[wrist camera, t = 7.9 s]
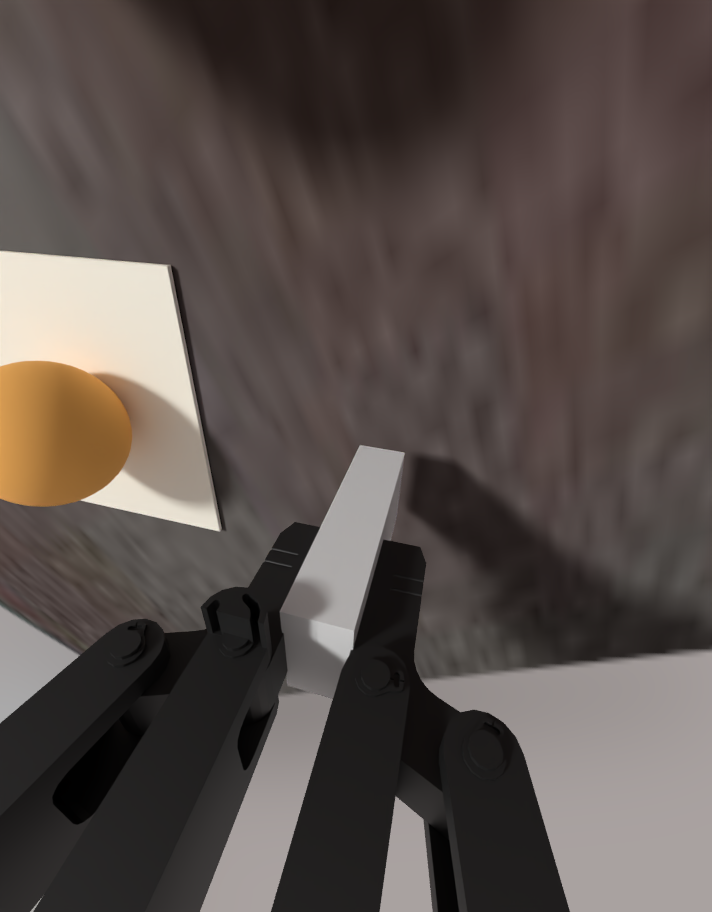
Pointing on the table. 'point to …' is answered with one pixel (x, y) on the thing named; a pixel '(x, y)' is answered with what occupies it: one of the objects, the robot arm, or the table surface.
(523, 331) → the table surface
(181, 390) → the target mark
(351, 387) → the table surface
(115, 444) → the ball
